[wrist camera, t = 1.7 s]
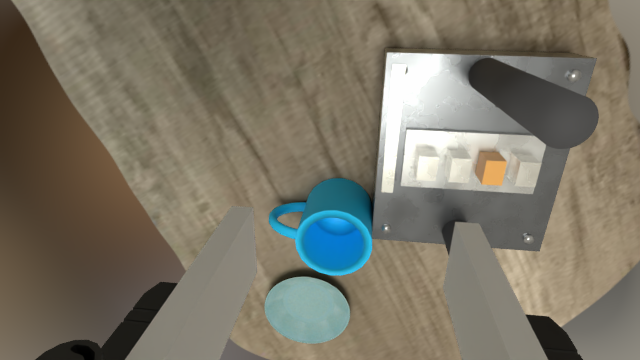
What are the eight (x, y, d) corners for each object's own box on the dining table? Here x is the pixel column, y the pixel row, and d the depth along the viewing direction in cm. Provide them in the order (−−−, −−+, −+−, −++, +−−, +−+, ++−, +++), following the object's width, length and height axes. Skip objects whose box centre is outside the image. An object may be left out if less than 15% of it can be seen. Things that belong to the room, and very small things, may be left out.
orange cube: (479, 151, 37) (486, 160, 35) (499, 152, 37) (507, 161, 35) (475, 174, 38) (481, 184, 36) (494, 175, 38) (501, 185, 36)
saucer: (363, 285, 53) (363, 296, 51) (332, 342, 58) (331, 355, 56) (282, 254, 52) (279, 264, 50) (258, 315, 57) (254, 326, 55)
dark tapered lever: (471, 57, 35) (544, 93, 20) (506, 58, 34) (606, 95, 20) (465, 90, 36) (530, 147, 21) (499, 92, 35) (588, 150, 21)
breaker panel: (385, 47, 40) (388, 56, 32) (569, 52, 38) (616, 62, 31) (371, 216, 48) (371, 253, 41) (522, 227, 46) (551, 268, 39)
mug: (376, 181, 46) (377, 215, 39) (367, 239, 49) (367, 280, 42) (277, 170, 47) (260, 201, 40) (275, 227, 50) (259, 265, 43)
